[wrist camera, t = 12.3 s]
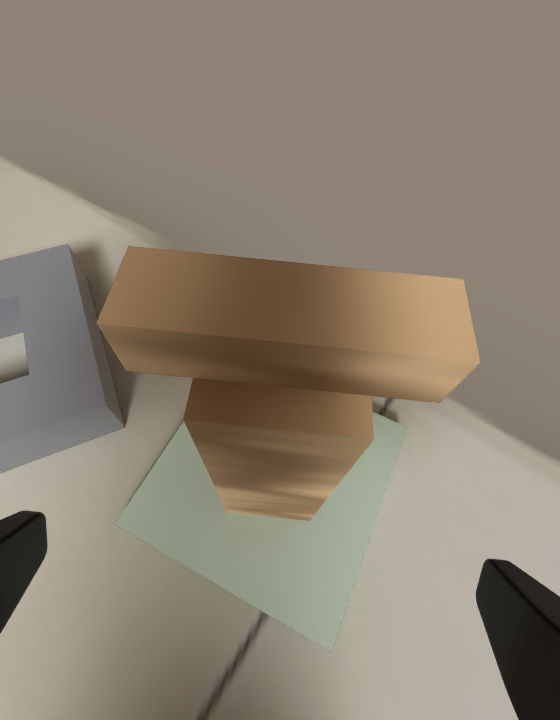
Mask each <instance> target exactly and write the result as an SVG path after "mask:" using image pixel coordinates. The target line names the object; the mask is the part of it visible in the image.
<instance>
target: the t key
mask: <svg viewBox="0 0 560 720" xmlns="http://www.w3.org/2000/svg"><path fill="white" fill-rule="evenodd" d="M96 324H97V325H98V327H99V329H100V330H101V332H102V333H103V335H104V337H105V338H106V340H107V341H108V343H109V344H110V346H111V348H112V349H113V351H114V352H115V354H116V355H117V357H118V359H119V360H120V362H121V363H122V365H123V367H124V368H125V370H126V371H131V372H141V373H151V374H160V375H170V376H180V377H190V378H193V381H192V385H191V389H190V393H189V398H188V402H187V406H186V410H185V415H184V419H183V420H184V423H185V425H186V427H187V429H188V431H189V433H190V435H191V437H192V440H193V442H194V444H195V446H196V448H197V450H198V452H199V454H200V456H201V459H202V461H203V463H204V465H205V467H206V469H207V471H208V473H209V476H210V478H211V480H212V482H213V484H214V486H215V488H216V490H217V492H218V495H219V497H220V499H221V501H222V503H223V505H224V507H225V509H226V511H227V512H228V513H238V514H247V515H257V516H267V517H276V518H286V519H295V520H305V521H310V520H311V519H312V517H313V516H314V515H315V514H316V512H317V511H318V510H319V508H320V507H321V506H322V505H323V503H324V502H325V501H326V500H327V498H328V497H329V496H330V495H331V493H332V492H333V491H334V489H335V488H336V487H337V486H338V484H339V483H340V482H341V481H342V479H343V478H344V477H345V475H346V474H347V473H348V472H349V470H350V469H351V468H352V467H353V465H354V464H355V463H356V461H357V460H358V459H359V458H360V456H361V455H362V454H363V453H364V451H365V450H366V449H367V448H368V446H369V445H370V444H371V442H372V441H373V440H374V430H373V402H372V396H377V397H387V398H396V399H406V400H416V401H426V402H436V403H440V402H441V401H442V400H443V399H444V398H445V397H446V396H447V395H448V394H449V393H450V392H451V391H452V390H453V389H454V388H455V387H456V386H457V385H458V384H459V383H460V382H461V381H462V380H463V379H464V378H465V377H466V376H467V375H468V374H469V373H470V372H471V371H472V370H473V369H474V368H475V367H476V366H477V365H478V364H479V363H480V358H479V353H478V349H477V344H476V339H475V334H474V329H473V324H472V320H471V315H470V310H469V305H468V300H467V295H466V290H465V286H464V281H463V279H456V278H445V277H435V276H425V275H415V274H404V273H395V272H385V271H375V270H365V269H354V268H344V267H334V266H324V265H314V264H304V263H293V262H284V261H273V260H264V259H253V258H243V257H233V256H222V255H213V254H203V253H193V252H183V251H173V250H163V249H153V248H142V247H132V246H128V248H127V251H126V253H125V256H124V258H123V260H122V263H121V265H120V268H119V270H118V272H117V275H116V277H115V280H114V282H113V284H112V287H111V289H110V292H109V294H108V296H107V299H106V301H105V304H104V306H103V308H102V311H101V313H100V316H99V318H98V320H97V323H96Z"/></svg>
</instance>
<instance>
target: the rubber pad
mask: <svg viewBox="0 0 560 720" xmlns="http://www.w3.org/2000/svg"><path fill="white" fill-rule="evenodd" d="M405 429H406V427H405V426H403V425H401V424H399V423H396V422H394V421H392V420H390V419H388V418H385V417H383V416H381V415H379V414H376V413H374V412H373V430H374V440H373V441H372V442H371V444H370V445H369V446H368V448H367V449H366V450H365V451H364V453H363V454H362V455H361V456H360V458H359V459H358V460H357V461H356V463H355V464H354V465H353V467H352V468H351V469H350V470H349V472H348V473H347V474H346V475H345V477H344V478H343V479H342V481H341V482H340V483H339V484H338V486H337V487H336V488H335V489H334V491H333V492H332V493H331V495H330V496H329V497H328V498H327V500H326V501H325V502H324V503H323V505H322V506H321V507H320V508H319V510H318V511H317V512H316V514H315V515H314V516H313V517H312V519H311V520H310V521H305V520H295V519H286V518H276V517H267V516H257V515H247V514H238V513H228V512H227V511H226V509H225V507H224V505H223V503H222V501H221V499H220V497H219V495H218V492H217V490H216V488H215V486H214V484H213V482H212V480H211V478H210V476H209V473H208V471H207V469H206V467H205V465H204V463H203V461H202V459H201V456H200V454H199V452H198V450H197V448H196V446H195V444H194V442H193V440H192V437H191V435H190V433H189V431H188V429H187V427H186V425H185V423H184V421H183V422H182V424H181V425H180V427H179V428H178V430H177V432H176V433H175V435H174V436H173V438H172V439H171V441H170V442H169V444H168V445H167V447H166V448H165V450H164V451H163V453H162V454H161V456H160V457H159V459H158V460H157V462H156V463H155V465H154V466H153V468H152V469H151V471H150V472H149V474H148V475H147V477H146V478H145V480H144V481H143V483H142V484H141V486H140V487H139V489H138V490H137V492H136V493H135V495H134V496H133V498H132V499H131V501H130V502H129V504H128V505H127V507H126V508H125V510H124V511H123V513H122V514H121V516H120V517H119V519H118V520H117V522H116V523H115V525H116V526H118V527H120V528H121V529H123V530H125V531H126V532H128V533H130V534H132V535H133V536H135V537H137V538H138V539H140V540H142V541H143V542H145V543H147V544H149V545H150V546H152V547H154V548H155V549H157V550H159V551H160V552H162V553H164V554H166V555H167V556H169V557H171V558H172V559H174V560H176V561H177V562H179V563H181V564H182V565H184V566H186V567H188V568H189V569H191V570H193V571H194V572H196V573H198V574H199V575H201V576H203V577H205V578H206V579H208V580H210V581H211V582H213V583H215V584H216V585H218V586H220V587H222V588H223V589H225V590H227V591H228V592H230V593H232V594H233V595H235V596H237V597H238V598H240V599H242V600H244V601H245V602H247V603H249V604H250V605H252V606H254V607H255V608H257V609H259V610H261V611H262V612H264V613H266V614H267V615H269V616H271V617H272V618H274V619H276V620H278V621H279V622H281V623H283V624H284V625H286V626H288V627H289V628H291V629H293V630H294V631H296V632H298V633H300V634H301V635H303V636H305V637H306V638H308V639H310V640H311V641H313V642H315V643H317V644H318V645H320V646H322V647H323V648H325V649H327V650H328V651H330V652H332V649H333V646H334V643H335V640H336V637H337V634H338V631H339V628H340V625H341V622H342V619H343V616H344V613H345V610H346V607H347V604H348V601H349V598H350V595H351V592H352V589H353V586H354V583H355V580H356V577H357V574H358V571H359V568H360V565H361V562H362V559H363V556H364V553H365V550H366V547H367V544H368V541H369V538H370V535H371V532H372V529H373V526H374V523H375V520H376V517H377V514H378V511H379V508H380V505H381V502H382V499H383V496H384V493H385V489H386V486H387V483H388V480H389V477H390V474H391V471H392V468H393V465H394V462H395V459H396V456H397V453H398V450H399V447H400V444H401V441H402V438H403V435H404V432H405Z"/></svg>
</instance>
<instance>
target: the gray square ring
mask: <svg viewBox="0 0 560 720" xmlns="http://www.w3.org/2000/svg"><path fill="white" fill-rule="evenodd" d="M97 320H98V319H97V315H96V311H95V307H94V303H93V299H92V295H91V291H90V287H89V284H88V280H87V276H86V275H85V273H84V271H83V269H82V268H81V266H80V264H79V262H78V261H77V259H76V257H75V255H74V254H73V252H72V250H71V248H70V246H69V245H68V244H67V245H63V246H59V247H55V248H50V249H46V250H42V251H38V252H34V253H30V254H26V255H22V256H18V257H14V258H10V259H5V260H1V261H0V338H3V337H7V336H10V335H14V334H17V333H21V332H24V340H25V347H26V355H27V362H28V369H29V375H26V376H23V377H20V378H17V379H14V380H10V381H7V382H4V383H1V384H0V473H2V472H5V471H7V470H10V469H13V468H15V467H18V466H21V465H24V464H26V463H29V462H32V461H34V460H37V459H40V458H43V457H45V456H48V455H51V454H53V453H56V452H59V451H62V450H64V449H67V448H70V447H73V446H75V445H78V444H81V443H83V442H86V441H89V440H92V439H94V438H97V437H100V436H102V435H105V434H108V433H111V432H113V431H116V430H119V429H121V428H124V427H125V425H124V421H123V417H122V413H121V410H120V406H119V402H118V398H117V394H116V390H115V386H114V382H113V378H112V374H111V370H110V366H109V362H108V358H107V354H106V350H105V347H104V343H103V339H102V335H101V331H100V329H99V327H98V325H97V324H96V323H97Z"/></svg>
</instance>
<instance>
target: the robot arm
mask: <svg viewBox="0 0 560 720" xmlns="http://www.w3.org/2000/svg"><path fill="white" fill-rule="evenodd" d="M46 552H47V530H46V518H45V515H44V514H43V513H41V512H34V511H20V512H18V513H15V514H13V515H11V516H8V517H6V518H4V519H2V520H0V633H1V632H2V630H3V628H4V627H5V625H6V623H7V622H8V620H9V618H10V617H11V615H12V613H13V611H14V610H15V608H16V606H17V605H18V603H19V601H20V599H21V598H22V596H23V594H24V593H25V591H26V589H27V587H28V586H29V584H30V582H31V581H32V579H33V577H34V575H35V574H36V572H37V570H38V569H39V567H40V565H41V563H42V562H43V560H44V558H45V555H46ZM476 601H477V605H478V609H479V612H480V615H481V617H482V620H483V623H484V626H485V629H486V632H487V635H488V638H489V641H490V644H491V647H492V650H493V653H494V656H495V659H496V662H497V665H498V668H499V670H500V673H501V676H502V679H503V682H504V685H505V687H506V690H507V693H508V695H509V698H510V700H511V702H512V705H513V707H514V710H515V712H516V714H517V717H518V719H519V720H560V597H559V596H558V595H557V594H555V593H554V592H552V591H551V590H549V589H548V588H547V587H545V586H544V585H542V584H541V583H539V582H538V581H537V580H535V579H534V578H532V577H531V576H529V575H528V574H527V573H525V572H524V571H522V570H521V569H520V568H518V567H517V566H515V565H514V564H512V563H511V562H509V561H506V560H499V559H487V560H486V561H485V562H484V564H483V567H482V571H481V575H480V578H479V582H478V586H477V590H476Z"/></svg>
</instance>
